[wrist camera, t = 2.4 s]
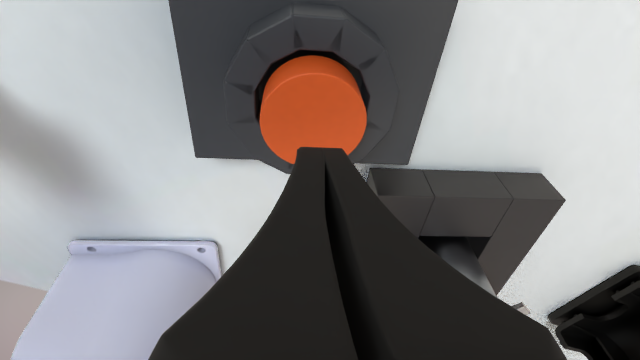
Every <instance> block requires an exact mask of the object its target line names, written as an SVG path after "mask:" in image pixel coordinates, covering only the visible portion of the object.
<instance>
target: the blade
mask: <svg viewBox="0 0 640 360" xmlns="http://www.w3.org/2000/svg"><path fill="white" fill-rule="evenodd" d="M418 239H419V240H420V241H421V242H422V243H424V244H425V245H426V246H427V247H428V248H429V249H431V250H432V251H433V252H434V253H436V254H437V255H438V256H439V257H441V258H442V259H443V260H444V261H446V262H447V263H448V264H449V265H451V266H452V267H453V268H455V269H456V270H457V271H459V272H460V273H462V274H463V275H464V276H466V277H467V278H468V279H470V280H471V281H473V282H474V283H476V284H477V285H479V286H480V287H482V288H483V289H485V290H486V291H488V292H489V293H490V294H492V295H493V296H495V297H497V296H496V294H495V292H494V290H493V288H492V287H491V285H490V283H489V281H488V279H487V277H486V275H485V273H484V271H483V269H482V267H481V265H480V263H479V261H478V259H477V257H476V255H475V253H474V251H473V250H472V248H471V246H470V244H469V242H468V240H467V238H466V236H420V235H419V237H418ZM511 307H513V308H515V309H516V310H518V311H520V312H521V313H523V314H525V315H528V314H530V311H529V309H528V308H527V307H526V306H525V305H524V304H523V302H521V303H519V304H516V305H514V306H511Z"/></svg>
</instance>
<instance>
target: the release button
mask: <svg viewBox="0 0 640 360" xmlns="http://www.w3.org/2000/svg"><path fill="white" fill-rule="evenodd" d="M366 123H367V113H366V108H365V105H364V102H363V99H362V96H361V93H360V90H359V88H358V85H357V82H356V80H355V78H354V77H353V75H352V74H351V73H350V72H349V71H348V69H347V68H345V67H344V66H343V65H342V64H340V63H338V62H337V61H335V60H332V59H330V58H327V57H323V56H316V55H308V56H301V57H297V58H294V59H292V60H289V61H287V62H286V63H284V64H282V65H281V66H280V67H279V68H277V69H276V70H275V71H274V72H273V74H272V75H271V76H270V78H269V79H268V81H267V83H266V86H265V89H264V93H263V98H262V105H261V111H260V129H261V133H262V136H263V138H264V140H265V142H266V144H267V145H268V146H269V148H270V149H271V150H272V151H273V152H274V153H275V154H276V155H277V156H279V157H280V158H282V159H283V160H285V161H287V162H289V163H291V164H295V160H296V155H297V149H299V148H300V147H322V148H342V149H343V150H344V151H345V153H346V154H347V155H349V154H350V153H351V152H352V151H353V150H354V149H355V148H356V147H357V145H358V144H359V143H360V141H361V139H362V137H363V135H364V132H365V129H366Z"/></svg>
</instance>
